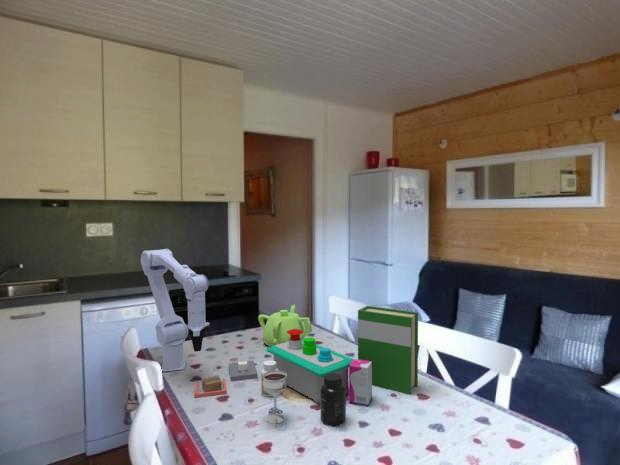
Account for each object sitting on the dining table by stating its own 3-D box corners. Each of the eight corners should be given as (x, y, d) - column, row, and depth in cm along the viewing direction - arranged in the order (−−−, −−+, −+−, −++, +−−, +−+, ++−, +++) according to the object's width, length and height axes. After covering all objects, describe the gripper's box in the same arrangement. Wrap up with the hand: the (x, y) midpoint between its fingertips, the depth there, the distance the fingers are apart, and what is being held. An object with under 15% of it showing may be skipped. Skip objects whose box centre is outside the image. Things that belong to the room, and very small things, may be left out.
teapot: (272, 354, 154) (271, 318, 154) (256, 339, 172) (255, 307, 172) (314, 346, 163) (313, 312, 162) (294, 333, 181) (294, 302, 180)
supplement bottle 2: (316, 416, 107) (316, 374, 107) (338, 411, 110) (338, 369, 109) (327, 429, 101) (327, 384, 100) (350, 423, 104) (350, 379, 103)
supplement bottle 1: (276, 397, 118) (275, 366, 118) (259, 396, 119) (258, 365, 119) (281, 389, 123) (280, 359, 123) (264, 388, 125) (264, 358, 124)
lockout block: (202, 388, 125) (202, 378, 125) (217, 385, 127) (217, 375, 127) (205, 395, 121) (205, 384, 120) (221, 391, 123) (221, 381, 123)
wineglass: (258, 417, 107) (257, 374, 106) (278, 409, 111) (277, 368, 111) (272, 427, 102) (271, 383, 101) (292, 418, 106) (292, 375, 106)
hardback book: (417, 385, 126) (418, 312, 124) (410, 394, 119) (410, 317, 118) (367, 373, 135) (367, 305, 134) (358, 381, 129) (357, 310, 127)
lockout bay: (195, 384, 127) (195, 381, 127) (225, 381, 130) (225, 378, 130) (194, 397, 119) (194, 394, 119) (226, 393, 121) (226, 390, 121)
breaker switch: (238, 368, 136) (238, 362, 136) (246, 367, 137) (246, 361, 137) (238, 370, 134) (238, 364, 134) (247, 370, 134) (247, 363, 134)
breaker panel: (228, 367, 142) (228, 363, 141) (253, 364, 144) (253, 360, 144) (230, 381, 130) (230, 376, 130) (257, 378, 132) (257, 373, 132)
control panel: (323, 353, 110) (264, 329, 132) (323, 410, 111) (264, 377, 133) (359, 341, 119) (298, 321, 142) (359, 394, 120) (299, 365, 143)
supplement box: (372, 397, 118) (372, 360, 117) (367, 407, 112) (368, 368, 112) (354, 394, 120) (353, 358, 119) (348, 403, 114) (348, 365, 114)
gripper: (208, 315, 126) (209, 357, 127) (208, 305, 140) (209, 342, 141) (186, 317, 124) (187, 359, 125) (188, 306, 138) (189, 344, 139)
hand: (197, 350), depth 133 cm, fingers closed
